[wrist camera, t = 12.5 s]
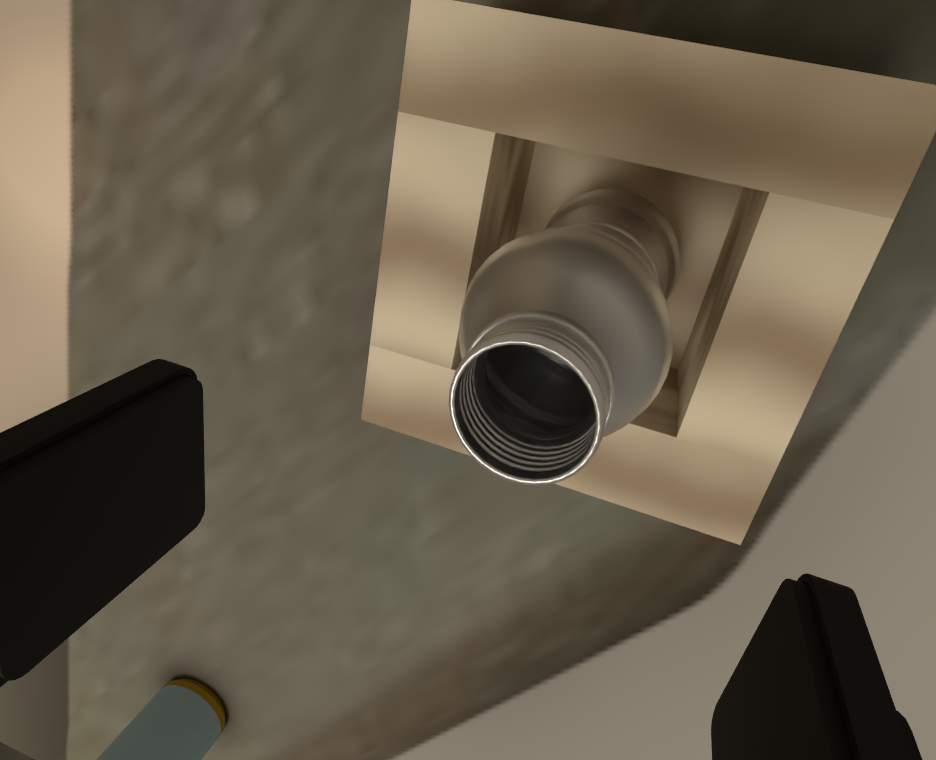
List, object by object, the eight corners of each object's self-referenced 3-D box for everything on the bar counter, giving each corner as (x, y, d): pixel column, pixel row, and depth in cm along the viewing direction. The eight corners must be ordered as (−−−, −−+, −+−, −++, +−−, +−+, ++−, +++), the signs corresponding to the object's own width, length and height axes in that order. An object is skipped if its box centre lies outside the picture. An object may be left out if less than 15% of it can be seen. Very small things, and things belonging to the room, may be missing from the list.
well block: (482, 25, 31) (412, -7, 23) (875, 97, 27) (956, 88, 19) (427, 357, 38) (361, 419, 30) (727, 447, 35) (740, 545, 27)
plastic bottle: (588, 335, 34) (484, 572, 16) (525, 225, 33) (339, 349, 15) (704, 278, 31) (731, 490, 13) (639, 155, 30) (575, 208, 12)
